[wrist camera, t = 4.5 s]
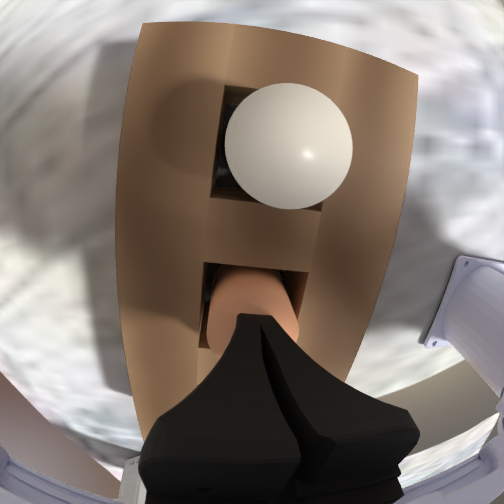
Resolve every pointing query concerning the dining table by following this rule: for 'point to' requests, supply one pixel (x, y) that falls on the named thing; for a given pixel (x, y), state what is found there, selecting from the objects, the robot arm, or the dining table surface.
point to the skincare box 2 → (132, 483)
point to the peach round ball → (246, 302)
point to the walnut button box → (247, 199)
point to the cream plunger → (288, 146)
